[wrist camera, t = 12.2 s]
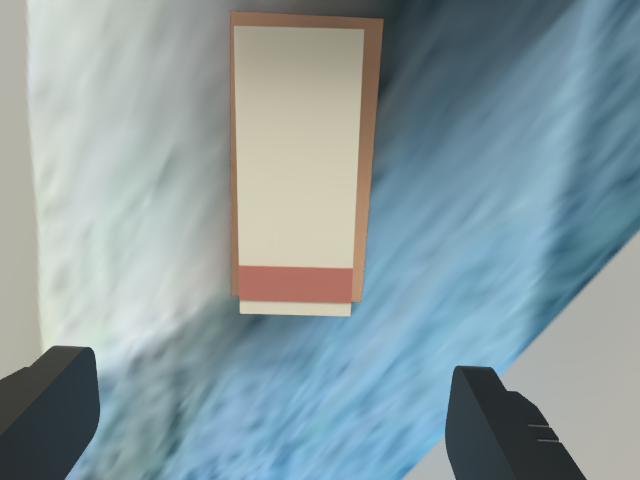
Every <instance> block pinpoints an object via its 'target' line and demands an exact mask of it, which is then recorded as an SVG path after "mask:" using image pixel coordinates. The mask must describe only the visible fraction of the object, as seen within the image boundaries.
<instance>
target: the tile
mask: <svg viewBox="0 0 640 480" xmlns="http://www.w3.org/2000/svg"><path fill="white" fill-rule="evenodd" d="M383 21H384V19H380V18H360V17H341V16H322V15H303V14H284V13H265V12H246V11H230V72H231V296H239V267H238V266H239V249H238V202H237V155H236V109H235V62H234V26H262V27H299V28H335V29H364V45H363V66H362V87H361V108H360V129H359V150H358V171H357V192H356V213H355V234H354V255H353V280H352V301H351V302H362V289H363V276H364V264H365V251H366V238H367V225H368V213H369V200H370V187H371V174H372V162H373V149H374V136H375V123H376V111H377V98H378V85H379V72H380V60H381V47H382V34H383Z"/></svg>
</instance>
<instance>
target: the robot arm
mask: <svg viewBox="0 0 640 480" xmlns="http://www.w3.org/2000/svg"><path fill="white" fill-rule="evenodd" d="M99 417H100V402H99V391H98V380H97V370H96V359H95V354H94V351H93V350H92V349H91V348H90V347H75V346H53V347H51V348H50V349H49V350H48V351H46V352H45V353H44V354H43V355H42V356H41V357H40V358H39V359H38V360H37V361H36V362H35V363H33V364H32V365H31V366H30V367H24V368H22V369H21V370H19V371H17V372H15V373H13V374H11V375H9V376H7V377H5V378H3V379H1V380H0V480H65V478H66V477H67V475H68V474H69V472H70V471H71V469H72V468H73V466H74V465H75V463H76V462H77V460H78V459H79V457H80V456H81V455H82V453H83V452H84V450H85V449H86V447H87V446H88V444H89V443H90V441H91V440H92V438H93V437H94V434H95V432H96V430H97V427H98V423H99ZM445 441H446V449H447V454H448V457H449V460H450V463H451V466H452V469H453V472H454V475H455V478H456V480H587V479H586V478H585V477H584V475H583V474H582V472H581V471H580V469H579V468H578V466H577V465H576V463H575V462H574V460H573V459H572V457H571V456H570V454H569V453H568V452H567V450H566V449H565V447H564V446H563V444H562V443H559V438H558V437H557V436H556V434H555V433H554V431H553V430H552V428H549V424H548V422H547V421H546V419H545V418H544V416H543V415H542V414H541V412H540V411H539V409H538V408H537V406H535V405H534V404H533V403H531V402H530V401H529V400H528V399H526V398H525V397H523V396H522V395H521V394H520V393H518V392H516V391H515V392H514V391H507V390H506V389H505V387H504V386H503V384H502V382H501V381H500V379H499V377H498V376H497V374H496V373H495V371H494V370H493V368H491V367H476V366H456V367H455V369H454V372H453V377H452V384H451V391H450V398H449V405H448V412H447V419H446V427H445Z"/></svg>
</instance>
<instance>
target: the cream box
mask: <svg viewBox="0 0 640 480" xmlns="http://www.w3.org/2000/svg"><path fill="white" fill-rule="evenodd" d="M363 45H364V29H335V28H299V27H262V26H234V62H235V109H236V155H237V202H238V249H239V266H238V267H239V300H240V314H278V315H316V316H351V301H352V280H353V255H354V234H355V213H356V192H357V171H358V150H359V129H360V108H361V87H362V66H363Z"/></svg>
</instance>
